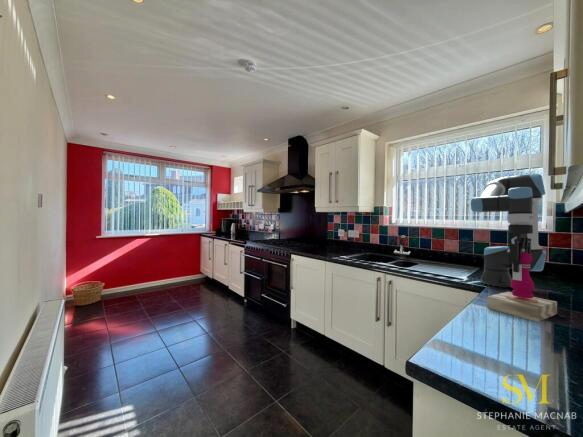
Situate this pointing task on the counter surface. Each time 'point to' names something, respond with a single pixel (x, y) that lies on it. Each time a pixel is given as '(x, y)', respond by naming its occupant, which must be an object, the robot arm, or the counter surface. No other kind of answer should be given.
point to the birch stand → (522, 306)
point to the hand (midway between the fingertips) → (520, 279)
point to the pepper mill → (524, 278)
